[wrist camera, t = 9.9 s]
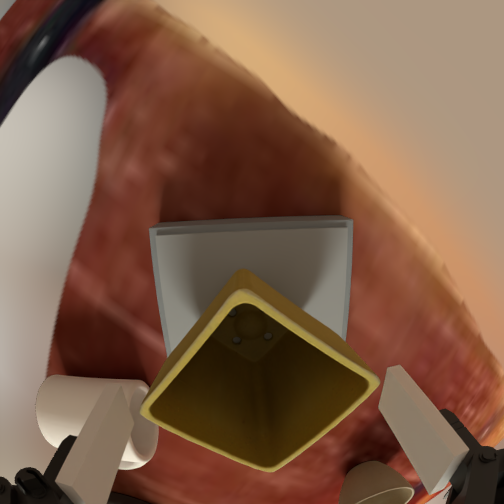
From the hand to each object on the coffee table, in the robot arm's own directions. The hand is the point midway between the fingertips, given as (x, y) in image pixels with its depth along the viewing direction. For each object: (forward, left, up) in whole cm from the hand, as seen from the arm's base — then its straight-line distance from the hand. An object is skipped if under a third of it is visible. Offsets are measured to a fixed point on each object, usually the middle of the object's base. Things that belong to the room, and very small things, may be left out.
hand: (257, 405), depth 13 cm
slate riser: (0, 0, -12) cm, 12 cm away
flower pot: (0, 0, -9) cm, 9 cm away
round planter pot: (+14, -27, -12) cm, 33 cm away
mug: (-15, -12, -12) cm, 22 cm away
